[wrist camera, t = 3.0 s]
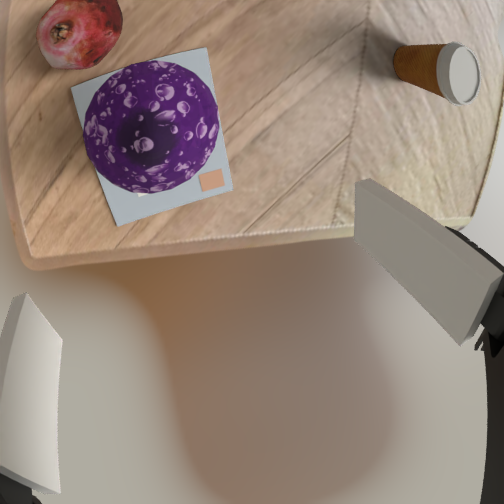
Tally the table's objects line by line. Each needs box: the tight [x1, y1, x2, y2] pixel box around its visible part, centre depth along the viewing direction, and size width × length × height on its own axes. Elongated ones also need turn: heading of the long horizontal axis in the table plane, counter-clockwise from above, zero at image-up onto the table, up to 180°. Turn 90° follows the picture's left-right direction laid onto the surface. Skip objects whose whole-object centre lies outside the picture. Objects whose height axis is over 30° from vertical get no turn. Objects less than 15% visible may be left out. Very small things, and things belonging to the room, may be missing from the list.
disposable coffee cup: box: [394, 42, 481, 106], centre depth 33 cm, size 10×10×12 cm
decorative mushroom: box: [83, 60, 219, 194], centre depth 26 cm, size 12×12×15 cm
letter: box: [71, 47, 233, 226], centre depth 33 cm, size 19×16×1 cm
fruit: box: [36, 0, 123, 69], centre depth 20 cm, size 9×10×10 cm
